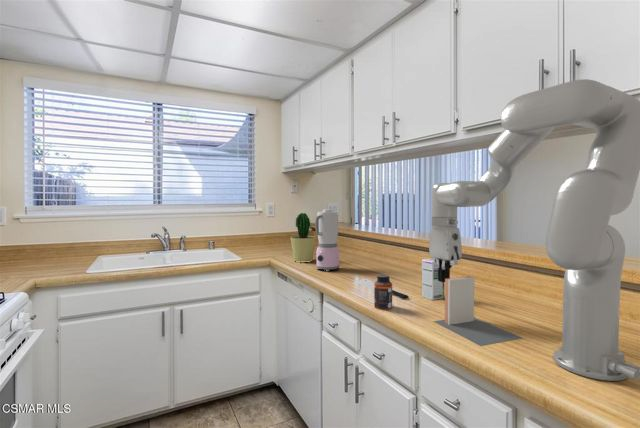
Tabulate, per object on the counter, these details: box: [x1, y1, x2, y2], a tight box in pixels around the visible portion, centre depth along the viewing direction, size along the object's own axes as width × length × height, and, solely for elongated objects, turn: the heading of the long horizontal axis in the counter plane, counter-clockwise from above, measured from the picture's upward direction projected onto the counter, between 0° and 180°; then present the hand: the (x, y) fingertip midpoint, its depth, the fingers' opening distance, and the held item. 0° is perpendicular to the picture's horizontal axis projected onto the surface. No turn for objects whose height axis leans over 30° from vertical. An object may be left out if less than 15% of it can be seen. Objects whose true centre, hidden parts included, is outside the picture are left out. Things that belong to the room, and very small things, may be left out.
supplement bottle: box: [373, 273, 393, 311], centre depth 113 cm, size 6×6×11 cm
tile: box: [444, 275, 475, 325], centre depth 98 cm, size 2×9×13 cm, turn 109°
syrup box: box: [421, 258, 445, 301], centre depth 125 cm, size 6×6×14 cm
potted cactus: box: [290, 212, 317, 261], centre depth 203 cm, size 15×15×30 cm
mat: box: [433, 316, 523, 347], centre depth 93 cm, size 18×14×1 cm
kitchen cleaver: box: [353, 278, 410, 301], centre depth 137 cm, size 31×2×10 cm
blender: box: [315, 209, 340, 272], centre depth 177 cm, size 16×12×32 cm
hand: (443, 281), depth 105 cm, fingers closed
